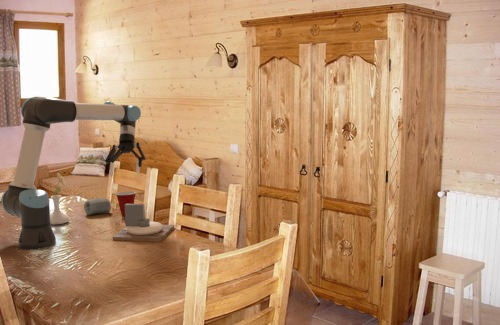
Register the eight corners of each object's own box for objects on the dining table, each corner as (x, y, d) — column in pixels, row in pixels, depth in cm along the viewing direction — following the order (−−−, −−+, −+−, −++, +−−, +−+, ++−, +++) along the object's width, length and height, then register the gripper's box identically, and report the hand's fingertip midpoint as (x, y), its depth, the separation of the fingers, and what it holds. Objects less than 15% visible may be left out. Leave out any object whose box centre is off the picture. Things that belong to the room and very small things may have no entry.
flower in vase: (62, 227, 264) (58, 176, 260) (40, 225, 267) (37, 175, 263) (75, 220, 277) (72, 171, 273) (55, 219, 279) (52, 170, 275)
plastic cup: (135, 211, 295) (134, 189, 293) (139, 215, 285) (138, 193, 283) (114, 213, 290) (113, 191, 289) (118, 217, 281) (117, 195, 279)
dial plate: (160, 241, 239) (160, 237, 239) (112, 240, 242) (112, 236, 242) (174, 228, 261) (174, 224, 260) (129, 226, 264) (129, 223, 263)
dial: (166, 225, 258) (165, 201, 256) (156, 235, 242) (155, 209, 240) (132, 224, 260) (131, 200, 258) (120, 234, 244) (119, 208, 243)
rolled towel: (84, 211, 281) (87, 193, 284) (81, 216, 289) (84, 198, 292) (110, 215, 285) (113, 197, 289) (107, 219, 294) (110, 202, 297)
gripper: (153, 137, 280) (151, 174, 271) (106, 142, 283) (103, 179, 274) (148, 130, 273) (146, 168, 264) (100, 135, 276) (97, 173, 267)
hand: (124, 174), depth 269 cm, fingers open, 13 cm apart
